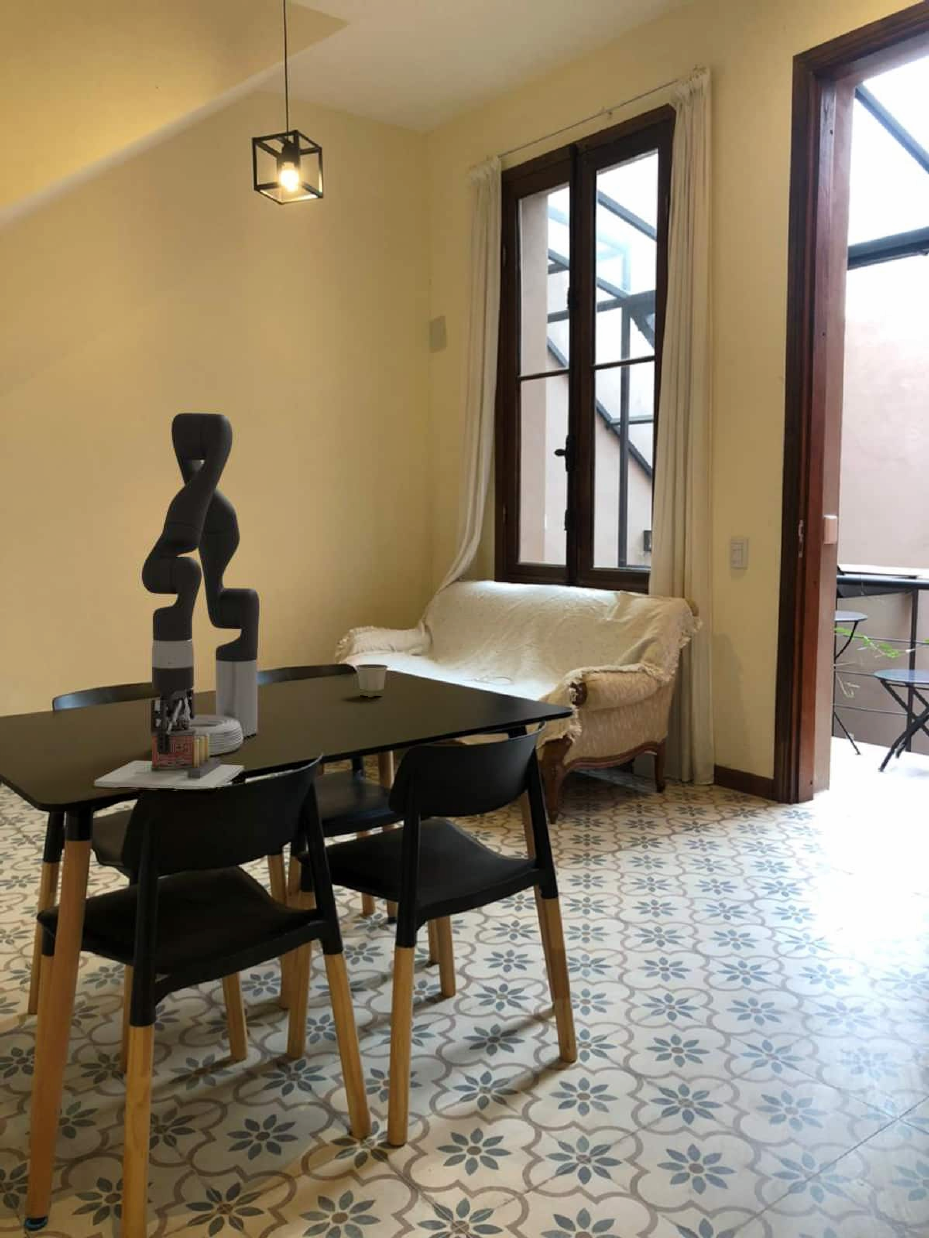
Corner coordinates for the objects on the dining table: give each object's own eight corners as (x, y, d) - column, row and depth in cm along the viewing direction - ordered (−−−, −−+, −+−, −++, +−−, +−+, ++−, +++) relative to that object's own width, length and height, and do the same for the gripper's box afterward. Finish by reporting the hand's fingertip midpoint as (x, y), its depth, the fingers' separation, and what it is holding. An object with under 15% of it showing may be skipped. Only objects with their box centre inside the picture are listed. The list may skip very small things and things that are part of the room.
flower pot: (354, 693, 280) (355, 663, 280) (387, 693, 281) (387, 663, 281) (354, 698, 271) (355, 668, 270) (388, 698, 272) (388, 668, 271)
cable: (218, 737, 218) (218, 711, 218) (259, 751, 205) (259, 723, 205) (144, 748, 206) (143, 719, 206) (182, 763, 194) (182, 733, 193)
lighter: (195, 765, 185) (195, 714, 184) (196, 770, 182) (195, 717, 181) (151, 768, 183) (150, 715, 182) (150, 772, 180) (150, 719, 179)
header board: (135, 765, 190) (134, 727, 189) (243, 770, 187) (243, 732, 187) (94, 786, 174) (93, 745, 173) (212, 792, 171) (212, 750, 171)
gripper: (176, 669, 173) (177, 758, 175) (206, 659, 187) (207, 741, 189) (136, 668, 174) (137, 756, 176) (169, 657, 188) (170, 740, 190)
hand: (173, 748), depth 182 cm, fingers open, 8 cm apart
